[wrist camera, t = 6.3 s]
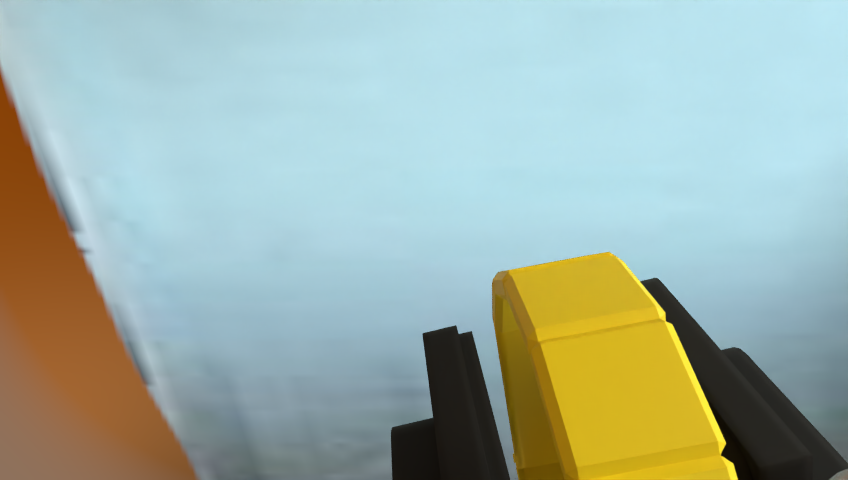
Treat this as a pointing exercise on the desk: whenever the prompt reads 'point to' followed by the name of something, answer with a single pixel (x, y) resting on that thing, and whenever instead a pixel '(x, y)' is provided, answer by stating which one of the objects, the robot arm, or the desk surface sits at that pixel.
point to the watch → (599, 378)
